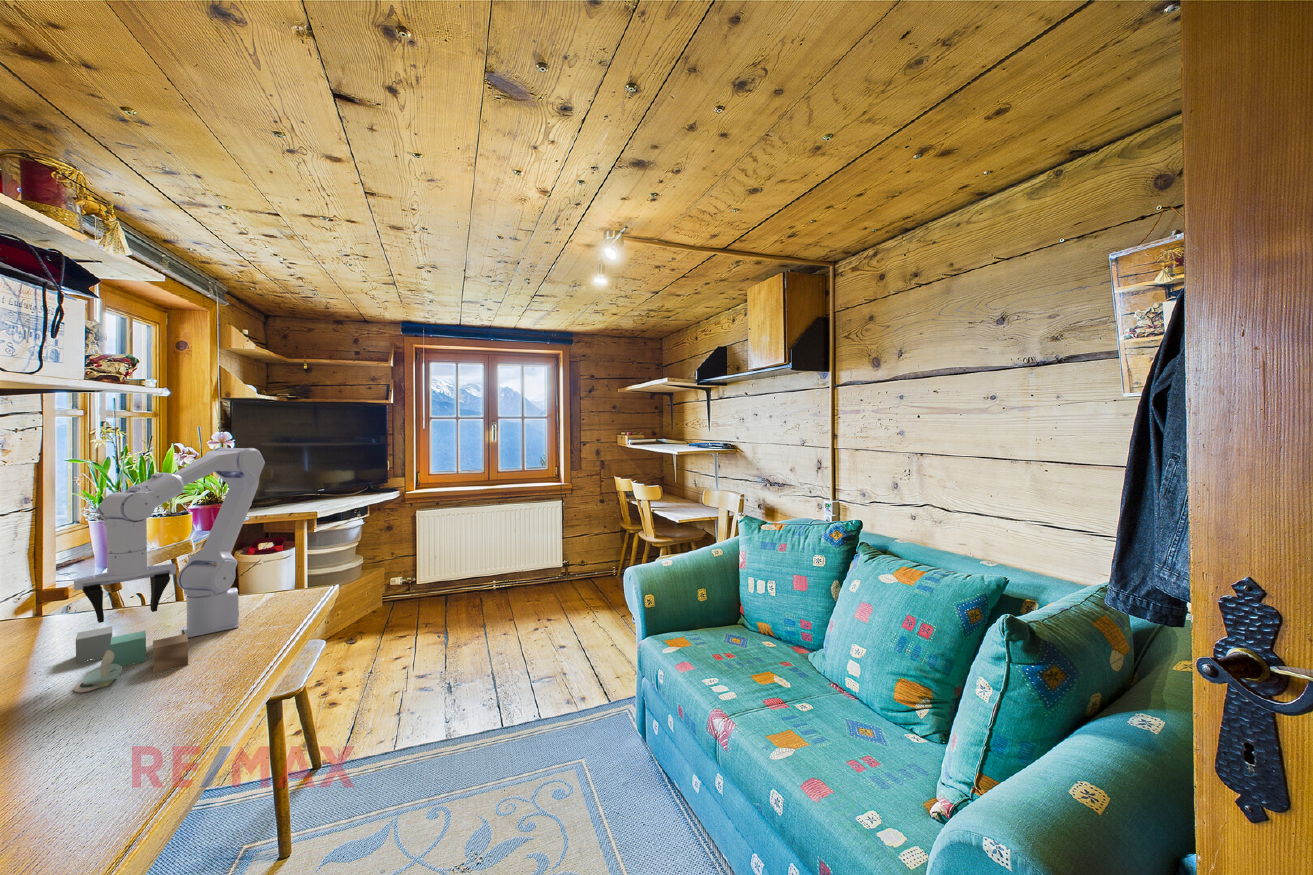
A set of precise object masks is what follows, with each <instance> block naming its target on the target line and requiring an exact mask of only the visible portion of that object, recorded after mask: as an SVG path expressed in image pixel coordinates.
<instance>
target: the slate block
mask: <svg viewBox="0 0 1313 875" xmlns="http://www.w3.org/2000/svg"><path fill="white" fill-rule="evenodd" d="M111 637H113V626H112V625H111V626H106V627H100V628H96V629H91V630H90V629H89V630H84V631H79V632H77V633H76V638H75V664H76V663H77V664H81V663H85V662H84V661H86V662H88V661H87V660H90V659H96V660H98V659H97V658H100V659H102V658H101V657H104V655H105V653H106V651H107V650H111Z"/></svg>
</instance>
